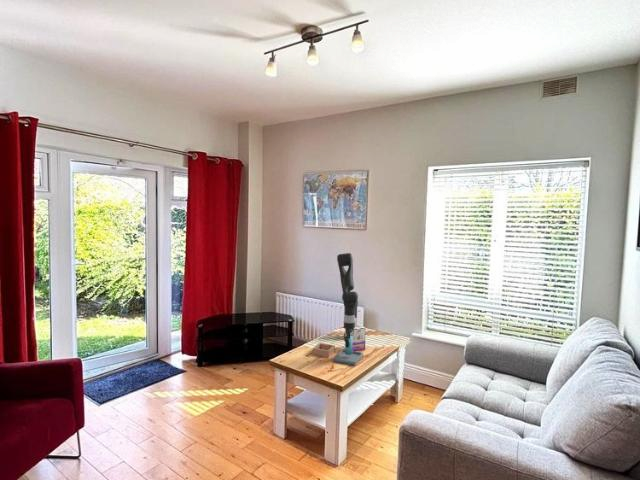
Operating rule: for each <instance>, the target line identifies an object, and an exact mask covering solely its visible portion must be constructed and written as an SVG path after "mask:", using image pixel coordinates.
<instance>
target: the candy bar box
mask: <svg viewBox="0 0 640 480" xmlns="http://www.w3.org/2000/svg"><path fill="white" fill-rule="evenodd" d="M365 350H366V327H365V326H364V325H363V326H362V325H361V326H360V325H359V326H357V327H355V328H354V333H353V344H352V351H356V352H361V351H365Z"/></svg>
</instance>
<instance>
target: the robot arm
mask: <svg viewBox="0 0 640 480" xmlns="http://www.w3.org/2000/svg"><path fill="white" fill-rule="evenodd" d="M336 259H337V261H336V262H337V264H338V265H337V266H338V270H339V275H340V283H341V285H340V286H341V289H342V296H341V299H342V301H343V302H342V303H343V307H344V309H343V310H344V315H343V329H344V333H343V341H344V343H345V342H346V347H349V340H350V337H351V336H353V333H354V328H355V327H358V325H357V324H358V304H359V295H358V293H357V292H356V291H353V290H354V289H355V286H354V266H353V265H354V260H353V256H352V253H349V252H346V253H340V254H337V257H336ZM345 267H348V268H347V270H346V268H345ZM348 336H349V337H348Z"/></svg>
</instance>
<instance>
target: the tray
mask: <svg viewBox="0 0 640 480" xmlns="http://www.w3.org/2000/svg"><path fill="white" fill-rule="evenodd" d="M363 357H364V352H362V351H352V355H346V354H345V348H342V349H341V350H340V351H339V352H338V353H337V354H336V355H334V357H333V358H332V359H333V362H334V363H338V364H343V365H349V366H354V367H356V365H358V363H359V362H360V360H361V359H362V358H363Z"/></svg>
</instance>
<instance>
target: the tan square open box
mask: <svg viewBox="0 0 640 480" xmlns="http://www.w3.org/2000/svg"><path fill="white" fill-rule="evenodd" d="M335 350H336V345H334V344H328V343H323V342H319V343H318V344H316V345H315V346H314V347H312V355H313V356H317V357H318V356H319V357H322V358H323V357H324V358H330V357H331V356H332V355H333V354H335V352H336V351H335Z"/></svg>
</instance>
